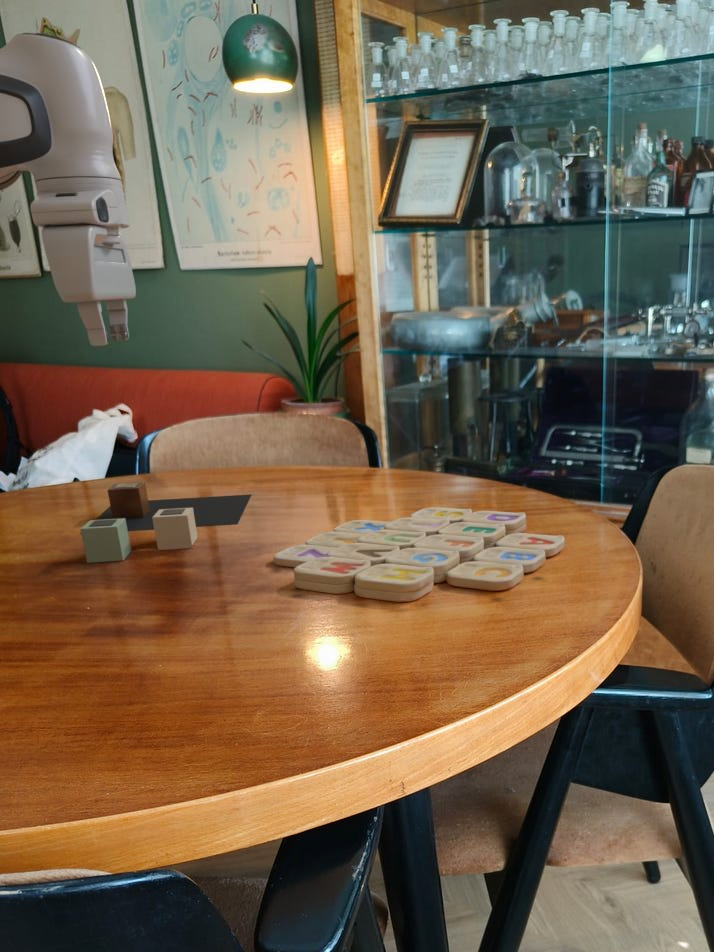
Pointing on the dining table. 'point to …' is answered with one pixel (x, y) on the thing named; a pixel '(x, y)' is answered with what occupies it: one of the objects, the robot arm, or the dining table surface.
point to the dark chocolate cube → (128, 500)
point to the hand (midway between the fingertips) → (111, 343)
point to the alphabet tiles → (420, 554)
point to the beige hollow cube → (175, 528)
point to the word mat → (204, 508)
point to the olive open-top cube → (105, 540)
